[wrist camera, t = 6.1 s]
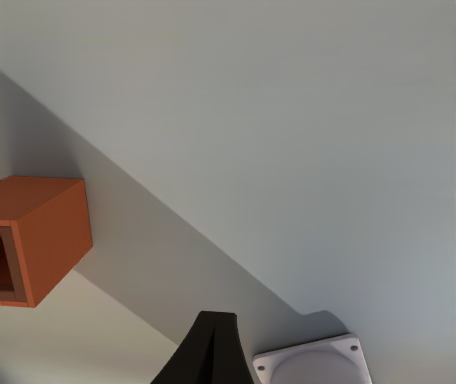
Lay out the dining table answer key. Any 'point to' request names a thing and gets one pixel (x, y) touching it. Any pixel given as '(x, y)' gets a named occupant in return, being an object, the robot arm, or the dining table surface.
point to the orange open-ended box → (40, 235)
